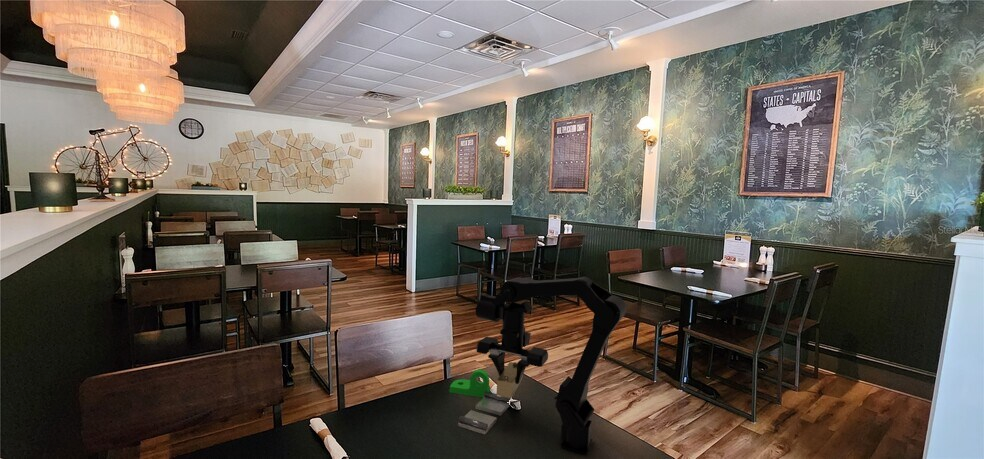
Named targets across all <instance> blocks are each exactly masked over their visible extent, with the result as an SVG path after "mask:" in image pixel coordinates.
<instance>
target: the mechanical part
mask: <svg viewBox="0 0 984 459" xmlns="http://www.w3.org/2000/svg"><path fill="white" fill-rule="evenodd" d="M477 378H480V379H481V380H482V381H478V380H477ZM489 383H490V376H489V373H488V372H487V371H486V370H484V369H480V368H478V369H475V370H474V371H473V372H472V374H471V376H470V378H469V379H465V378H464V379H462V378H461V379H460V378H459V379H456V380H454V381H453V382H452V383H451V384H450V386H449V393H452V394H458V395H465V396H471V397H478V398H482V399H483V398H484V397H485V396H484V393H485V391H487V392H490V386H489Z"/></svg>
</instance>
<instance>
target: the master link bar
mask: <svg viewBox="0 0 984 459" xmlns="http://www.w3.org/2000/svg"><path fill="white" fill-rule="evenodd" d="M517 363H518V362H511V361H510V362H508V364H507V365H506V366H505V367H504V371H503V372H502V374H501V375H500V376H499V377H498V378H497V380H496V393H495V394H496V395H499V396H504V397H509V398H511V399H512V398H513V396H514V395H515V392H516V391H517V389H518V387H519V386H520V383H521V381H522V380H523V377H524V376H523V375H524V374H523V375H522V378H521V380H520V383H519V384H517V379H516V377H517Z"/></svg>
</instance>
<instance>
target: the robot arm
mask: <svg viewBox="0 0 984 459" xmlns="http://www.w3.org/2000/svg"><path fill="white" fill-rule="evenodd" d="M557 296H559V297H561V296H562V297H564V296H578V297H579V299H580V300H581V301H582V302H583V303H584V305H585V306H586V307H587V309H589V310H590V312H592V313H593V318H592V326H591V327H592V330H591V334H590V336H589V337H588V341H587V343H586V345H585V347H584V348H583V349H584V350H583V352H582V354H581V356H580V359H579V361H578V363H577V366H576V368H575V370H574V373H573V375H572V377H570V376H569V375H568V376H567V377H566V378H565V379H564V380H563V382H562V383H561V384H560V385H559V388H558V393H557V394H556V396H555V397H553V398H554V400H556V401H555V404H554V406H555V408H556V410H557V412H558V413H559V415H560V419H561V423H562V424H561V425H560V426H561V430H560V441H561V443H560V447H561V448H562V449H565V450H569V451H572V452H576V453H579V454H581V455H584V456H585V455H588V453H589V450H590V447H591V445H592V442H593V439H592V436H591V435H592V422H593V421H592V420H590V418H591V417H592V416H593V414H594V412H595V407H594V406H593V405H592V404H591V403H590V401H589V400H588V399H587V398H588V393H589V384H590V380H591V378H592V376H593V374H594V372H595V369H596V367H597V364H598V362H599V359H600V358H601V355H602V354H603V353H602V352H603V351H604V349H605V346H606V344H607V343H608V342H607V341H608V339H609V338H610V335H611V334H612V332H613V331H614V330H615V328H617V326H618V324H619V323H620V321H622V318H624V316H625V315H626V312H627V305H626V303H625V300H624V299H622V298H621V297H620V296H617V295H613V294H612V293H611V292H609V290H607V289H605V288H604V287H603V286H601V285H598V284H597V283H595V282H594V281H593V280H592V279H591V278H589V277H587V276H581V277H575V278H573V277H572V278H561V279H560V278H559V279H545V280H542V279H541V280H536V279H532V278H527V277H520V276H518V277H514V278H512V279H509V280H507V281H504V282H503V283H502V285H501V288H500V291H499V292H498V294H497V295H496V296H494V295H490V294H487V293H483V294H480V296H479V297H480V299H479V300H478V302H477V304H476V307H475V316H476V318H478V319H482V320H486V321H491V322H494V323H498V322H500V320H502V326H501V330H500V332H499V333H500V335H501V343H499V340H498V338H494V337H491V336H485V337H483V338H482V339H480V340H479V341H478V342H477V343H476V350H475V351H476V353H479V354H483V355H487V354H488V355H487V358H489V359H491V361H492V363H493V365H494V366H495V369H496V371H497V373H498V376H499V377H500V375H501V374H502V372H503V371H504V369H505V357H506V355H507V354H508V355H514V356H518V357H520V360H519V361H517V362H516V363H517V377H516V379H517V384H519V383H521V382H520V380H521V378H522V375H524V373H525V370H526V368H529V366H534V367H538V368H540V367H543V366H544V365H545V364H546V362H547V361H548V360H549V351H548V350H547V349H546V348H540V347H537V346H533V347H532V348H531V349H524V348H525V347H527V346H528V345H530V342H531V341H530V340H531V335H532V333H531V332H526V327H525V314H528V313H529V312H532V311H533V309H534V308H533V307H532V306H531V304H529V303H528V301H526V300H529V299H533V298H536V297H537V298H539V297H557ZM521 301H523V302H522V303H521ZM522 379H523V378H522ZM521 381H522V380H521ZM519 385H520V384H519Z"/></svg>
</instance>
